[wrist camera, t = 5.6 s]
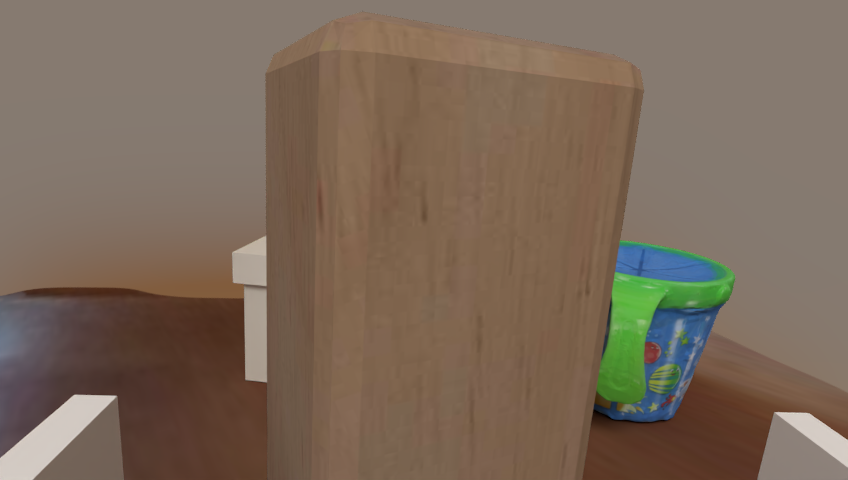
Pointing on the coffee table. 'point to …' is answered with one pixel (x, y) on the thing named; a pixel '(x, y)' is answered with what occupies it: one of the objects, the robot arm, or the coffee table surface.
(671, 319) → the snack cup
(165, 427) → the coffee table surface
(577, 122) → the block
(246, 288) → the footstool
